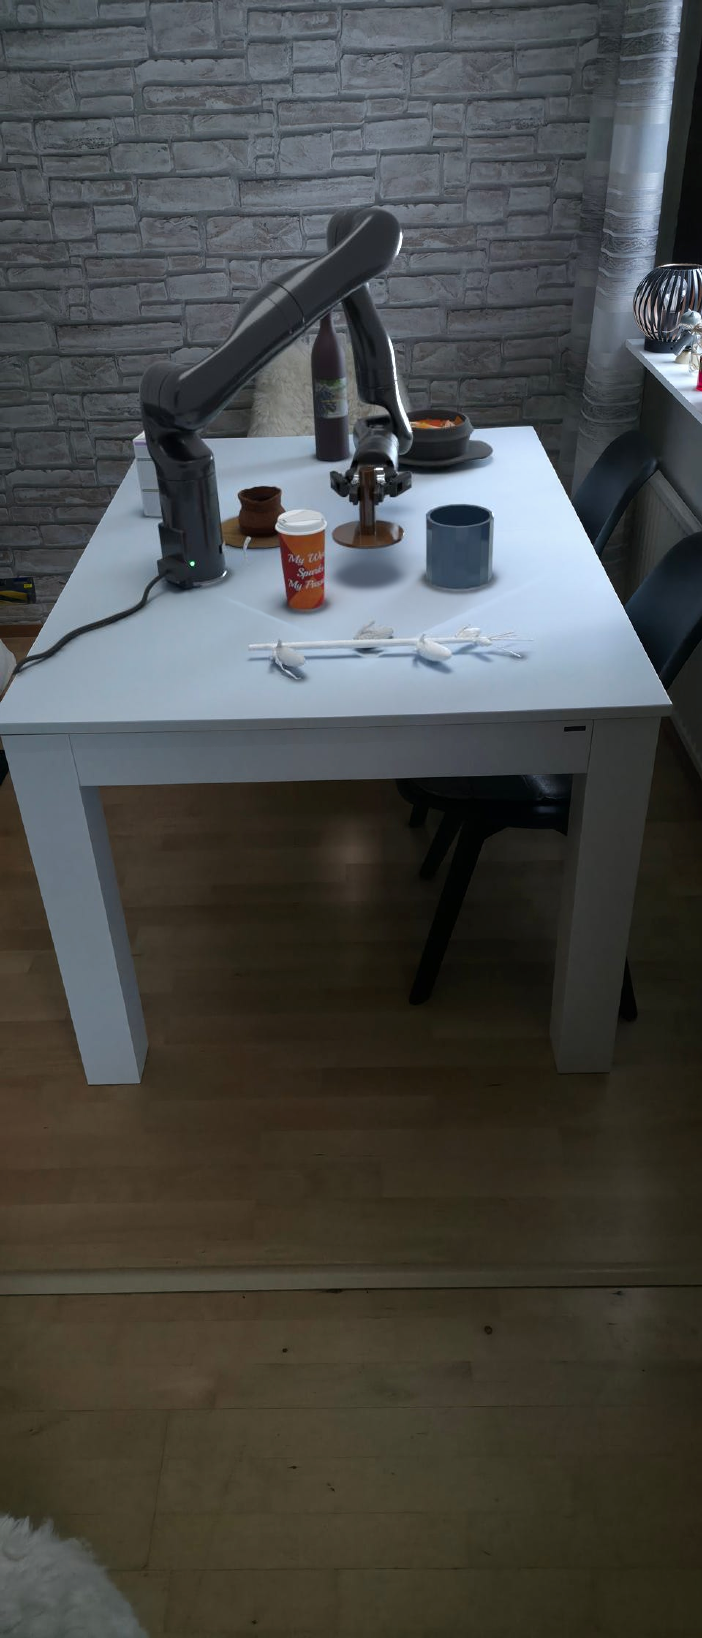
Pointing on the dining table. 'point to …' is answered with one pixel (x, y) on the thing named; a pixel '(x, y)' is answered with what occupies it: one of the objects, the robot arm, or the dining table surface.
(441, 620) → the dining table surface
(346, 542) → the paper towel holder
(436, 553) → the blue faceted canister
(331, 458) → the wine bottle
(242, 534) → the ceramic pot
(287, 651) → the dried plant stem
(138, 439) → the syrup box
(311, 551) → the paper cup
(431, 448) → the casserole
